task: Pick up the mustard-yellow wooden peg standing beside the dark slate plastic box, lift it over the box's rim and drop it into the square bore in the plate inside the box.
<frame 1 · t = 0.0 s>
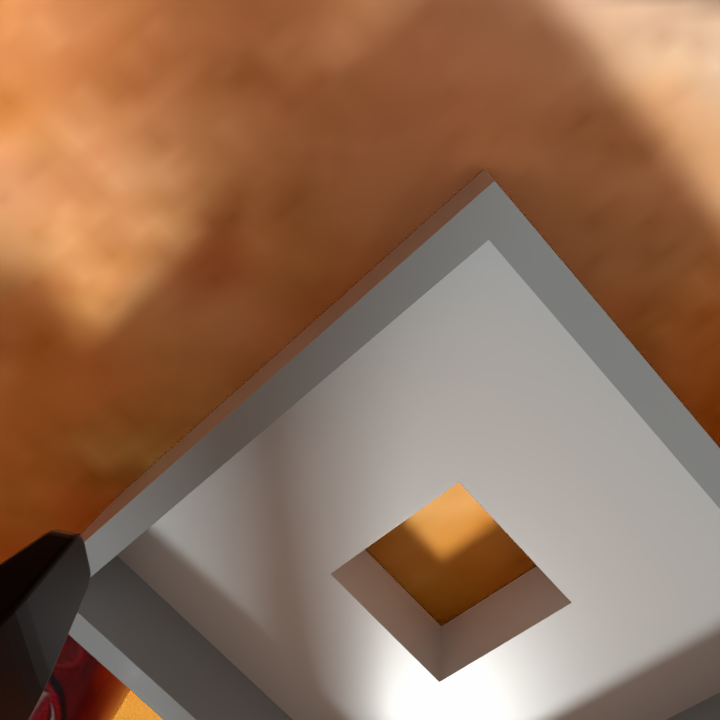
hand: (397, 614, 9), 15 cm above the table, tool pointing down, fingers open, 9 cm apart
soda can: (82, 615, 30), on the table
slate box: (449, 539, 26), on the table
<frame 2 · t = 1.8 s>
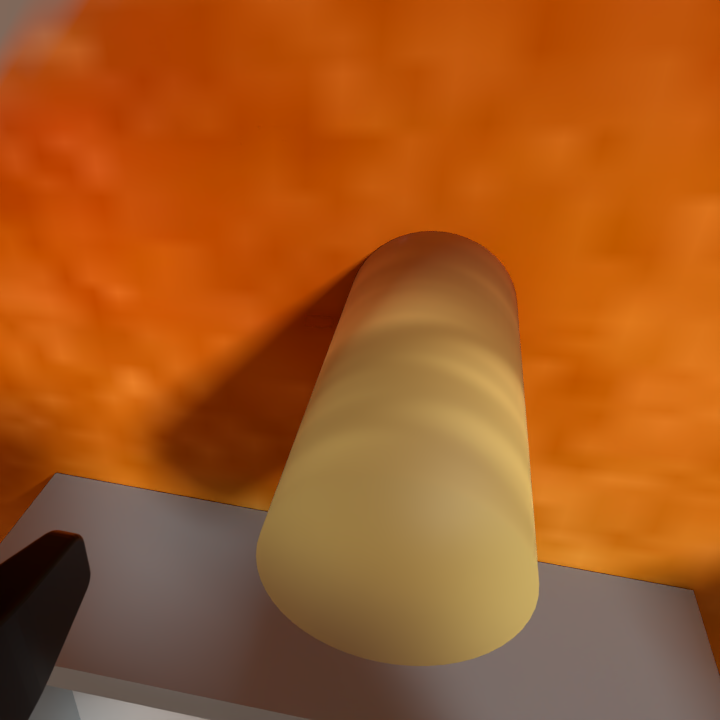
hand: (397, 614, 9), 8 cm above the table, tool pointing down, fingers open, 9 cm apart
yellow peg: (431, 309, 16), on the table
slate box: (339, 702, 26), on the table
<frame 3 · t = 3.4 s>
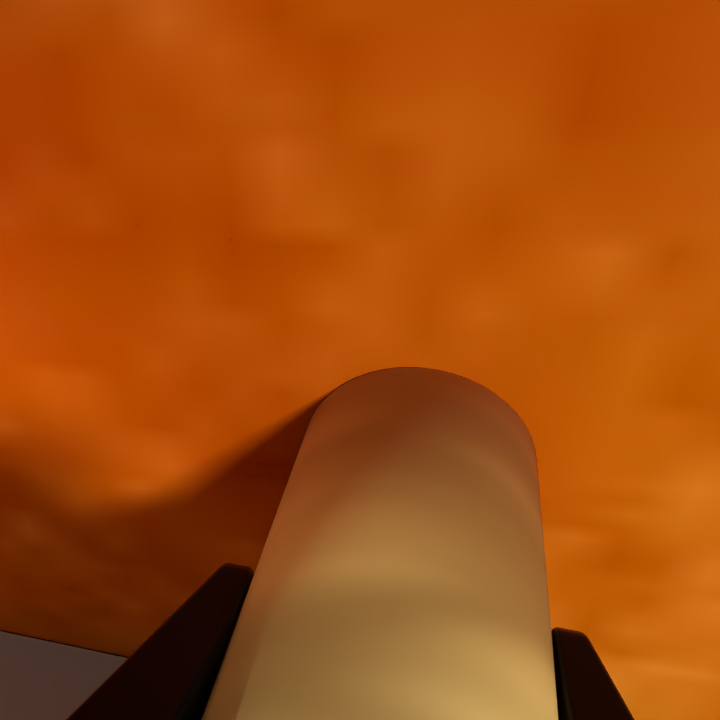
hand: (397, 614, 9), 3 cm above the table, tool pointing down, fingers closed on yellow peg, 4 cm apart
yellow peg: (417, 463, 11), on the table, touching gripper
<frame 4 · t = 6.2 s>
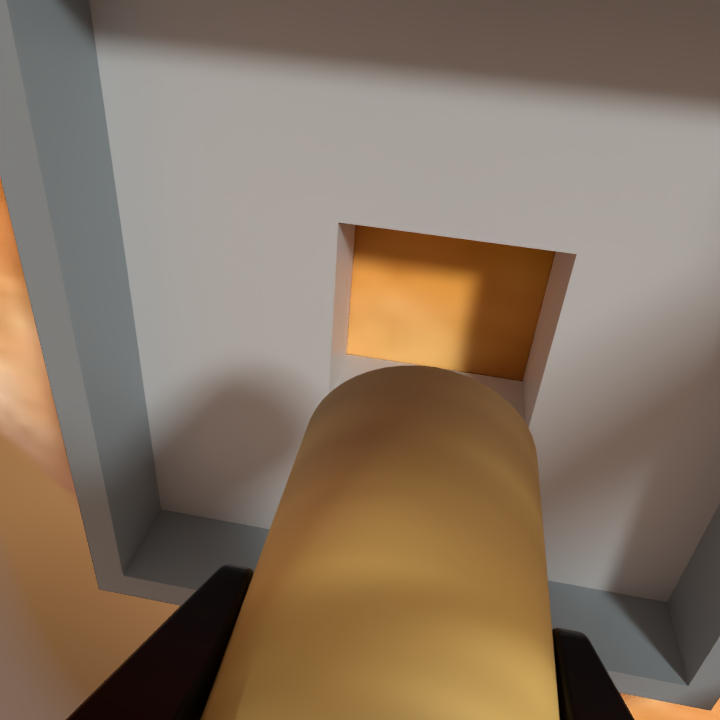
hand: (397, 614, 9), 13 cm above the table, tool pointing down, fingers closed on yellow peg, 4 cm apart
yellow peg: (417, 462, 11), point 10 cm above the table, touching gripper
slate box: (445, 289, 21), on the table
when the fingers open (4 cm above the table, at t = 9.1 s): yellow peg stays where it is, resting in slate box.
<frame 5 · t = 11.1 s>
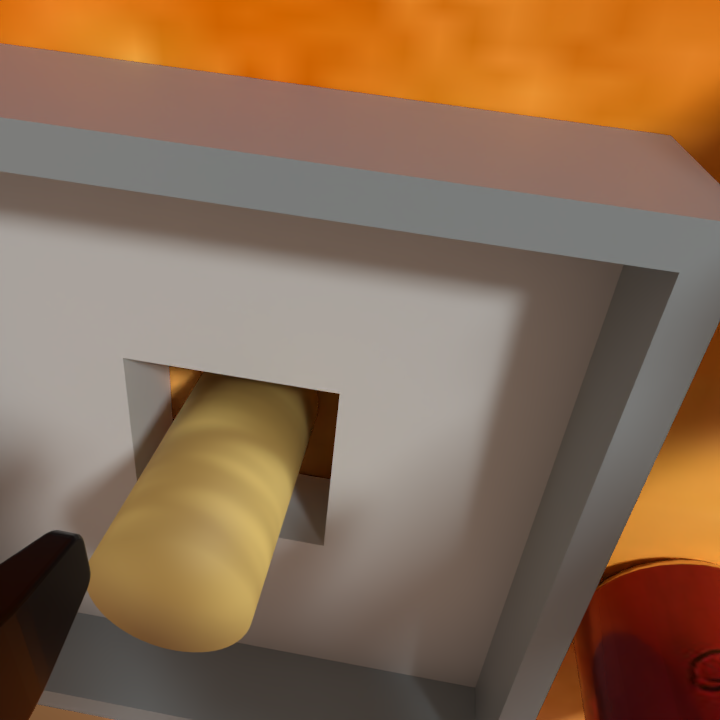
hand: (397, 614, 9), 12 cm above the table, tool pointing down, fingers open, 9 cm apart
yellow peg: (259, 397, 22), resting in slate box
soda can: (669, 612, 25), on the table
slate box: (257, 399, 22), on the table
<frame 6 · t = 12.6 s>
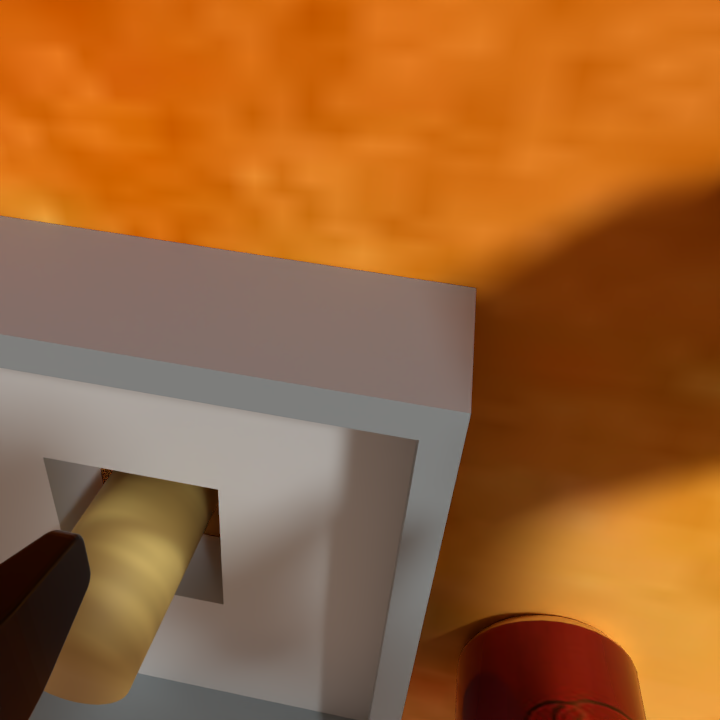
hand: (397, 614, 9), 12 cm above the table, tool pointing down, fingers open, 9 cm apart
yellow peg: (173, 475, 26), resting in slate box
soda can: (543, 657, 29), on the table
slate box: (172, 476, 26), on the table
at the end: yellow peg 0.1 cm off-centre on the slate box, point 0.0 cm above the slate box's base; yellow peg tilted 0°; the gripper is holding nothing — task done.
